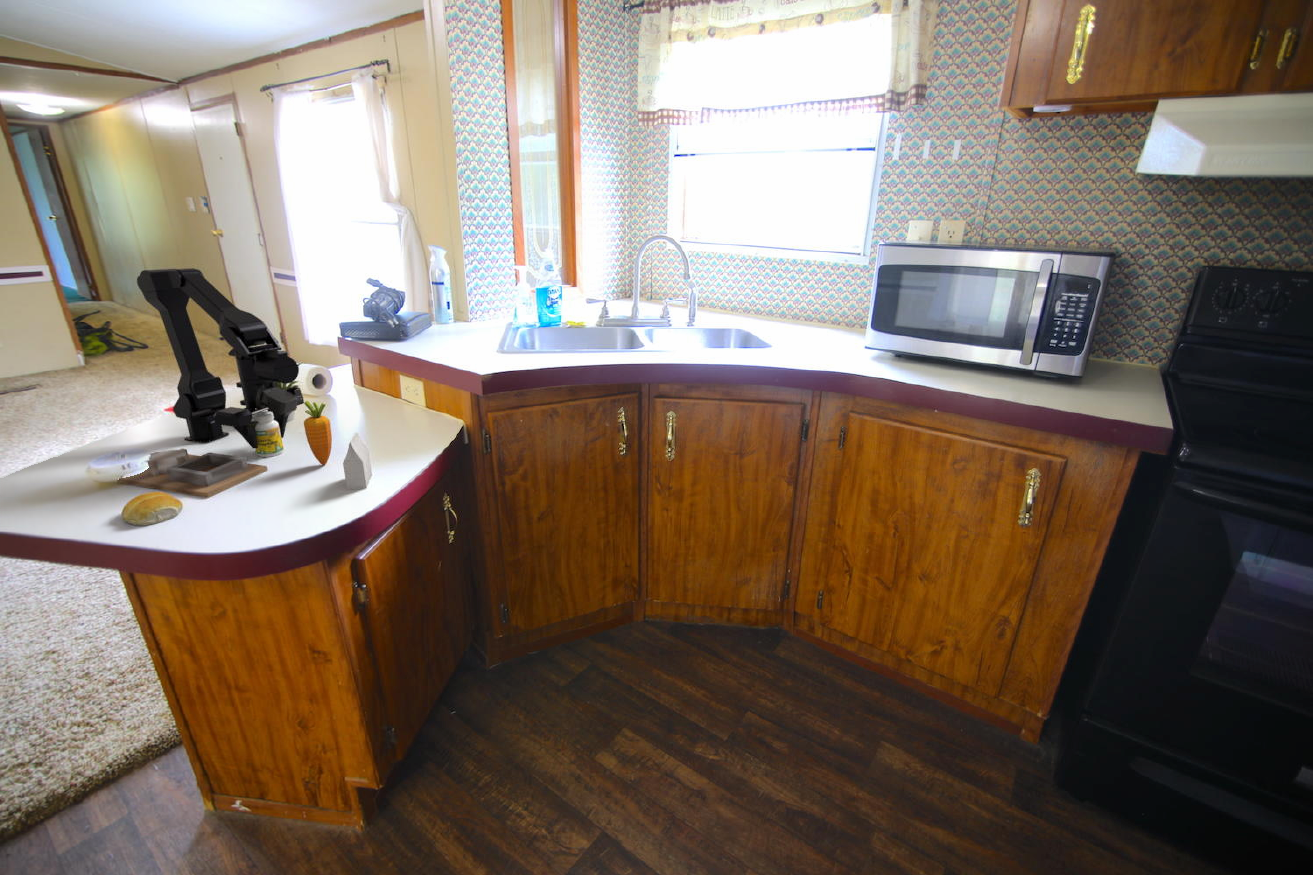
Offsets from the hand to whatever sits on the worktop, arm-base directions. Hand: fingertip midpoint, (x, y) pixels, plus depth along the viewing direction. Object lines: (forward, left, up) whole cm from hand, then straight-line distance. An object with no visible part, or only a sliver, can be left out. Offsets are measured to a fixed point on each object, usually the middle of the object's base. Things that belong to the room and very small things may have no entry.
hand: (268, 442), depth 136 cm
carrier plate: (-4, -15, -2) cm, 16 cm away
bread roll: (+4, -30, -3) cm, 31 cm away
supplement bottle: (0, 0, -3) cm, 3 cm away
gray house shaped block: (+29, -7, -3) cm, 30 cm away
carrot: (+16, -2, -3) cm, 16 cm away
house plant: (-15, +21, -3) cm, 26 cm away
